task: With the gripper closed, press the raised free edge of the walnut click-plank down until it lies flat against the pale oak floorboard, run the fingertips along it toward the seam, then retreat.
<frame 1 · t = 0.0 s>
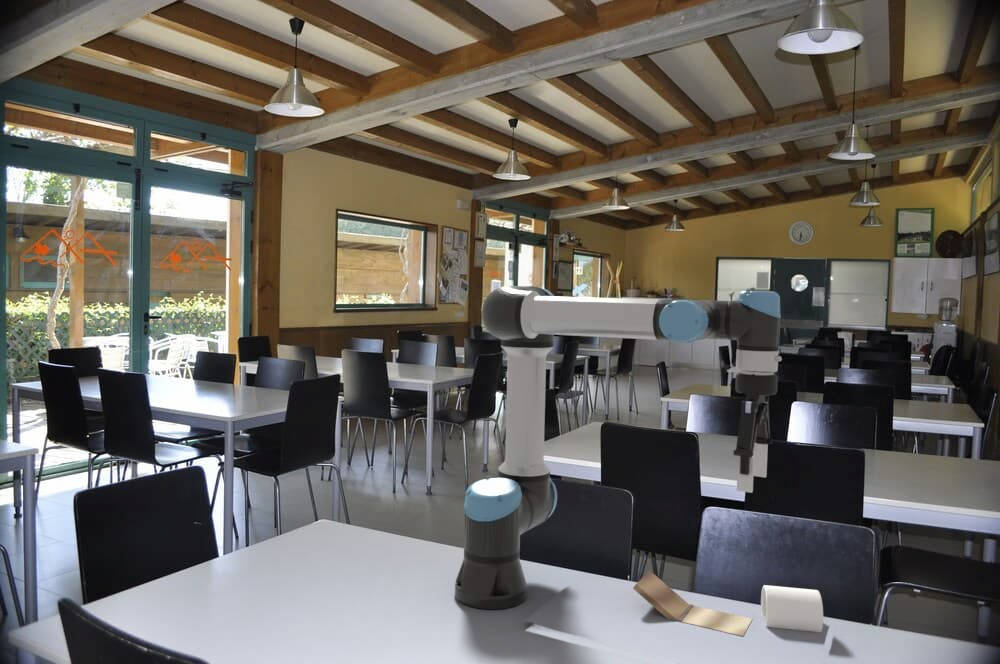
hand: (752, 483, 143), 28 cm above the table, fingers open, 13 cm apart
mug: (788, 626, 146), on the table
floorboard: (715, 626, 144), on the table
plank: (661, 596, 149), point 4 cm above the table, hinge at 32.0°
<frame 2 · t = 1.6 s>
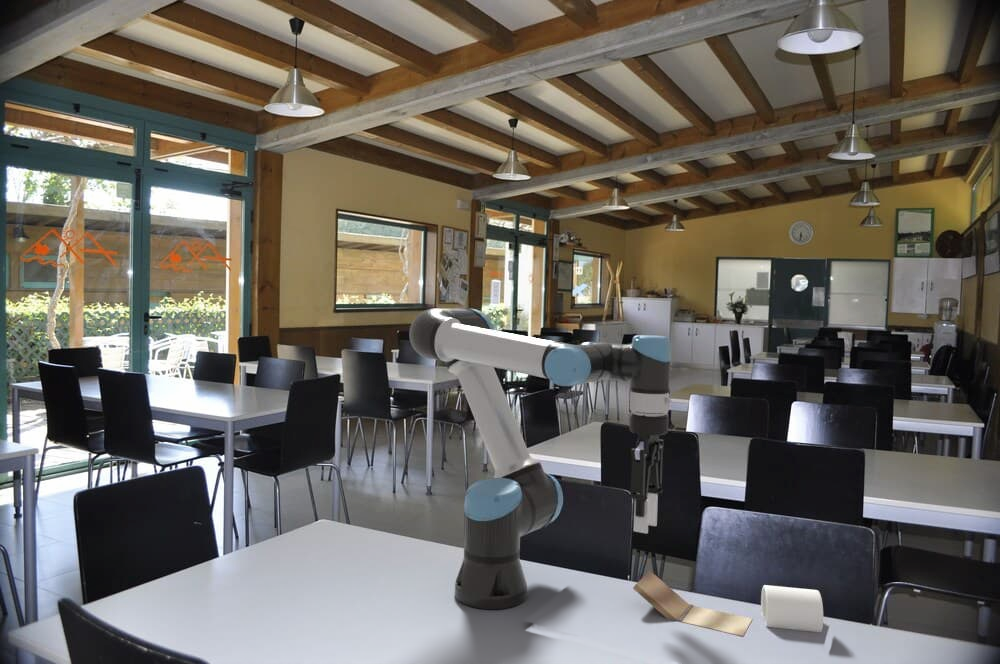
hand: (645, 528, 150), 17 cm above the table, fingers open, 5 cm apart
nothing on the table moved.
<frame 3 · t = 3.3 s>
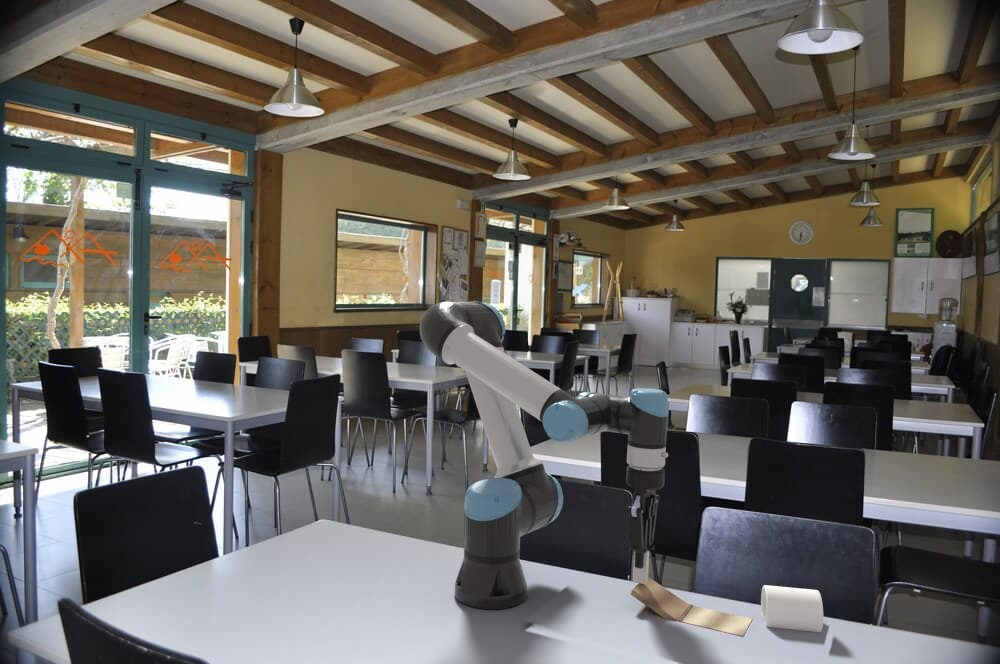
hand: (640, 581, 151), 6 cm above the table, fingers closed
plank: (660, 599, 149), point 3 cm above the table, hinge at 24.0°, touching gripper
everything else where it was.
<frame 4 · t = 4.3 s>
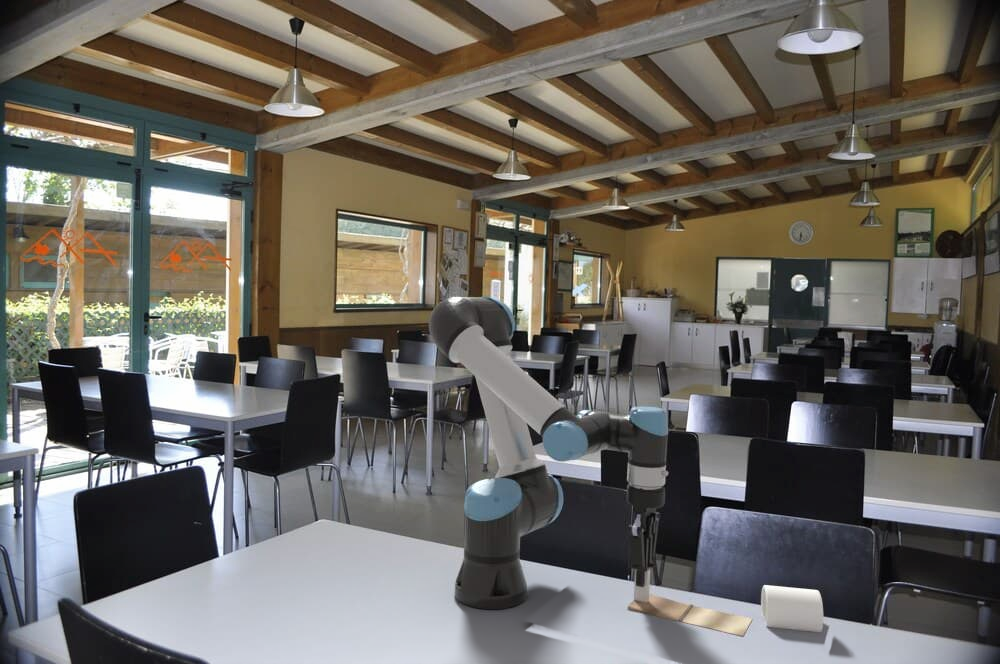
hand: (641, 599, 151), 2 cm above the table, fingers closed
plank: (658, 608, 149), point 1 cm above the table, hinge at 3.2°, touching gripper
everything else where it was.
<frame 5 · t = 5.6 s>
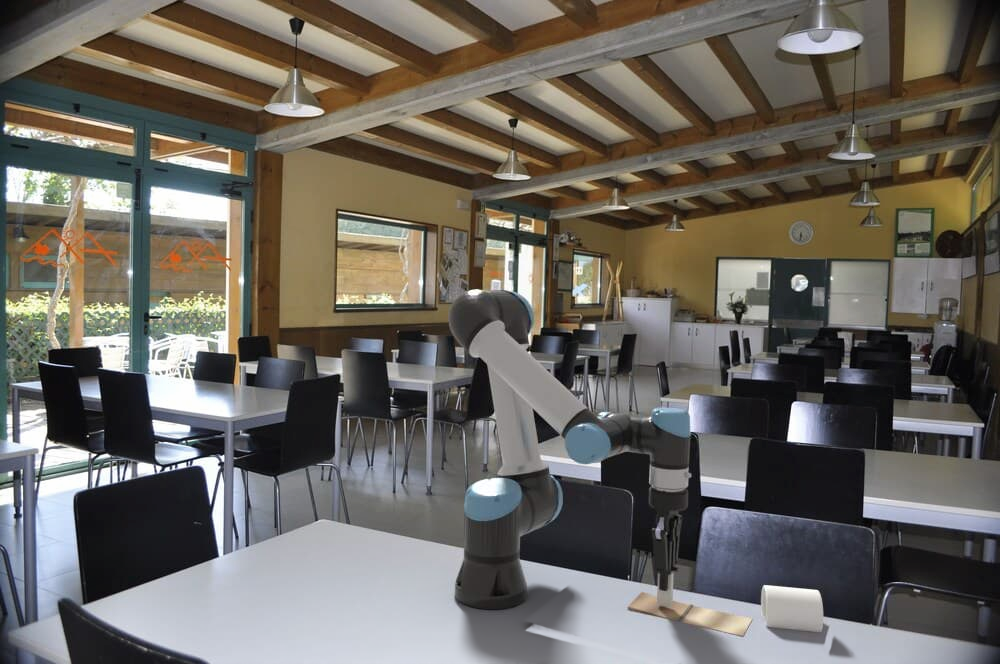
hand: (664, 604, 149), 2 cm above the table, fingers closed
plank: (658, 608, 149), point 1 cm above the table, hinge at 3.0°
everything else where it was.
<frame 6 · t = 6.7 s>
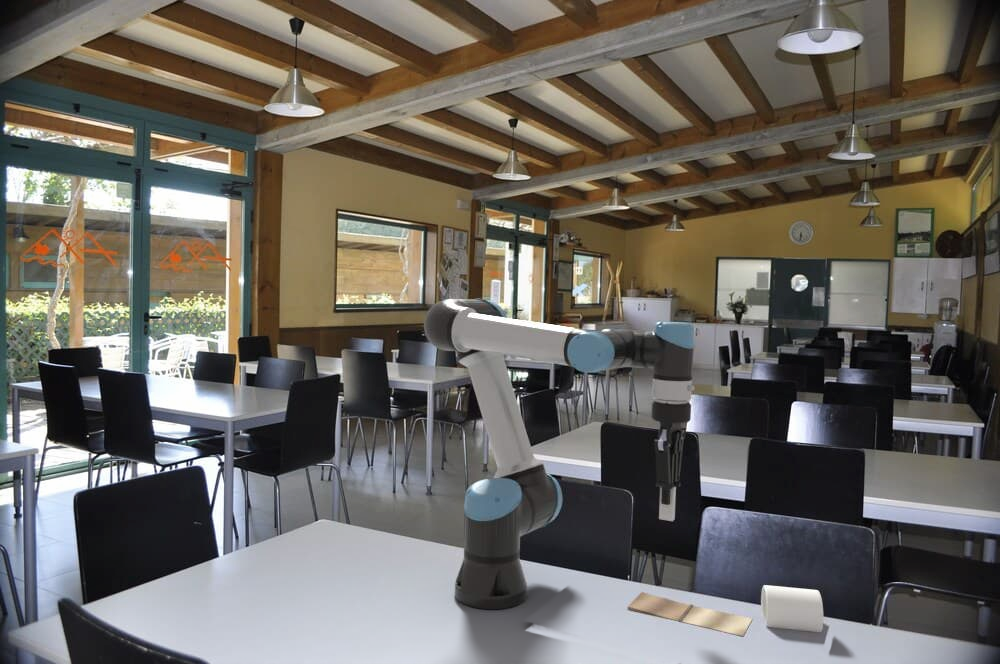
hand: (666, 519, 148), 19 cm above the table, fingers closed
nothing on the table moved.
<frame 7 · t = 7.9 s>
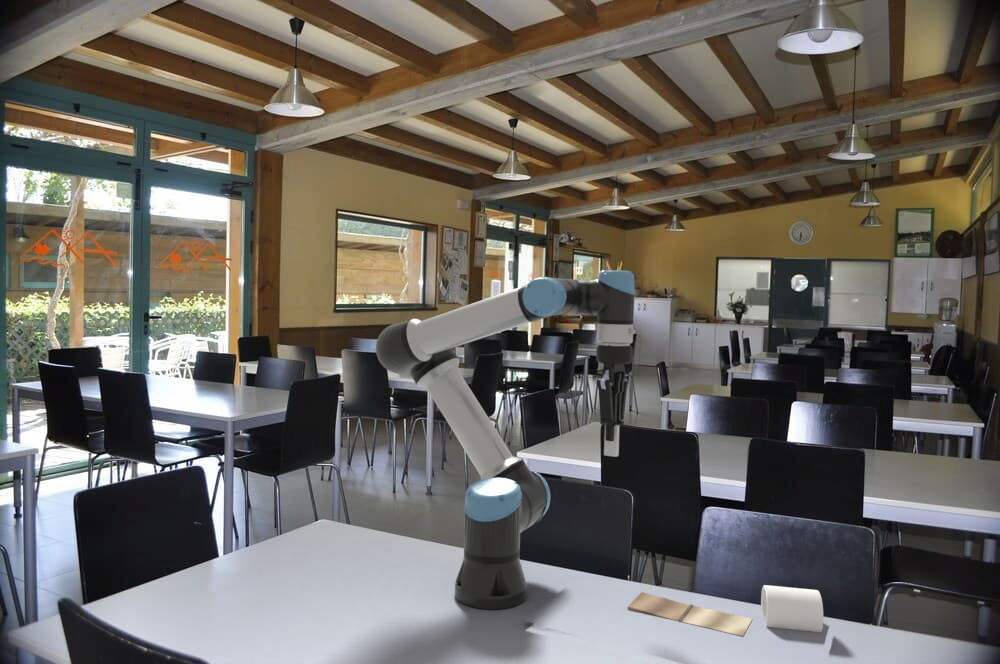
hand: (611, 455, 158), 29 cm above the table, fingers closed
nothing on the table moved.
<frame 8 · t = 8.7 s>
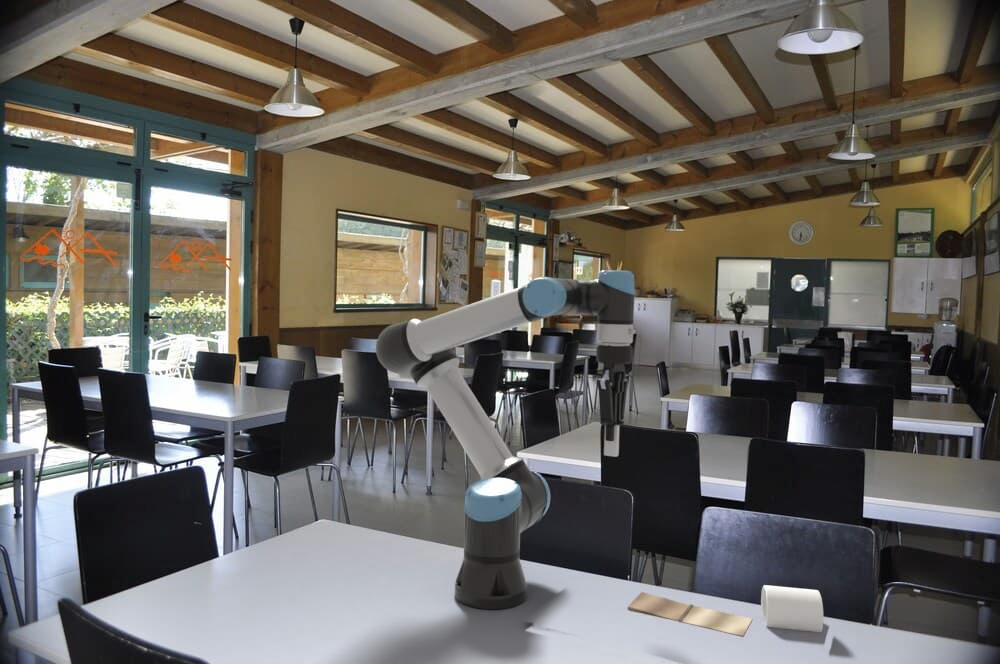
hand: (611, 455, 158), 29 cm above the table, fingers closed
nothing on the table moved.
at the end: plank at +3° (first picture: +32°) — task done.
